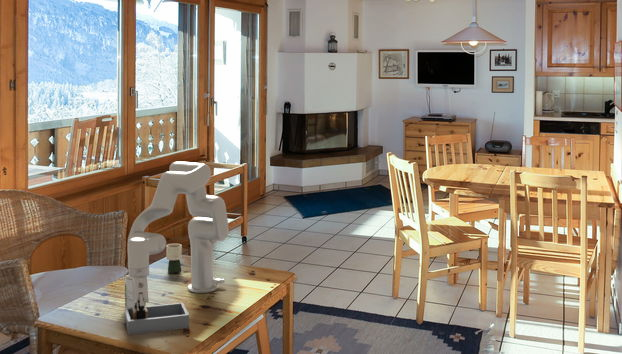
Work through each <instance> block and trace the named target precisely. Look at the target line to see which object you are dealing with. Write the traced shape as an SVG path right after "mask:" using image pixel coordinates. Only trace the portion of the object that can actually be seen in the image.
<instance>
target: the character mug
mask: <svg viewBox="0 0 622 354" xmlns="http://www.w3.org/2000/svg"><path fill="white" fill-rule="evenodd" d="M165 249H166V253H165V255H166V259H167V260H168V264H167V265H168V267H167V273H169V274H172V273H173V274H174V273H175V274H177V273H181V272H182V266H181V259H182V258H183V254H182V253H183V252H182V251H183V246H182V244H180V243H168V244H166V246H165Z"/></svg>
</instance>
